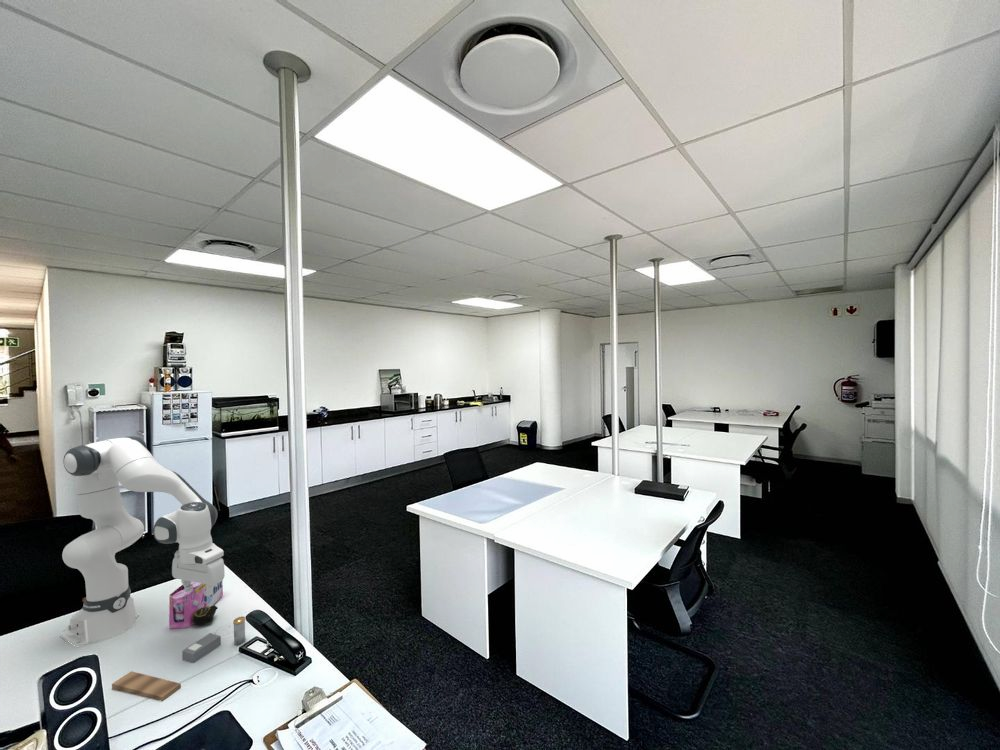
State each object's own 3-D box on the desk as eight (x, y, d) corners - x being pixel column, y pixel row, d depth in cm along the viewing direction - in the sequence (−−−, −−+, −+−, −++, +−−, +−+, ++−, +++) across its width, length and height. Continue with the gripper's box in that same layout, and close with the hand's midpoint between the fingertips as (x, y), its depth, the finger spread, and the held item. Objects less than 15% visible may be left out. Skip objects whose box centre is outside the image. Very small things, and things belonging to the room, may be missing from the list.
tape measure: (211, 625, 147) (211, 616, 147) (189, 629, 145) (189, 619, 144) (217, 612, 154) (217, 603, 153) (196, 615, 151) (196, 606, 151)
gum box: (188, 630, 145) (187, 595, 145) (166, 631, 144) (165, 597, 144) (223, 595, 167) (222, 565, 167) (204, 596, 166) (203, 566, 166)
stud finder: (182, 662, 129) (182, 650, 129) (210, 644, 138) (210, 632, 137) (193, 666, 127) (193, 653, 127) (220, 647, 136) (220, 635, 136)
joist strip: (112, 691, 117) (111, 683, 117) (131, 678, 122) (131, 671, 122) (162, 705, 112) (162, 697, 112) (180, 691, 117) (180, 683, 117)
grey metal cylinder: (231, 646, 136) (230, 621, 136) (240, 639, 139) (239, 615, 139) (239, 648, 135) (238, 623, 135) (248, 641, 138) (247, 617, 138)
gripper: (164, 553, 132) (167, 593, 133) (208, 560, 126) (210, 603, 126) (185, 544, 138) (187, 583, 139) (227, 551, 132) (229, 592, 132)
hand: (198, 593), depth 132 cm, fingers open, 8 cm apart
